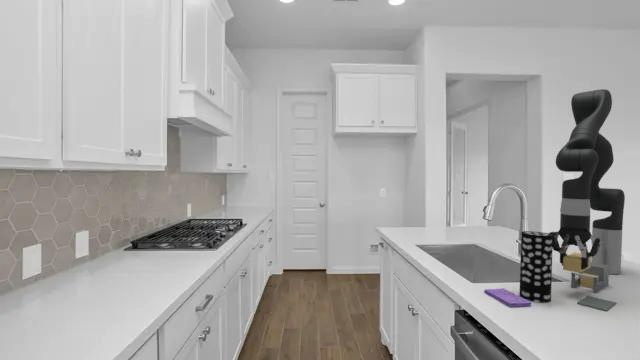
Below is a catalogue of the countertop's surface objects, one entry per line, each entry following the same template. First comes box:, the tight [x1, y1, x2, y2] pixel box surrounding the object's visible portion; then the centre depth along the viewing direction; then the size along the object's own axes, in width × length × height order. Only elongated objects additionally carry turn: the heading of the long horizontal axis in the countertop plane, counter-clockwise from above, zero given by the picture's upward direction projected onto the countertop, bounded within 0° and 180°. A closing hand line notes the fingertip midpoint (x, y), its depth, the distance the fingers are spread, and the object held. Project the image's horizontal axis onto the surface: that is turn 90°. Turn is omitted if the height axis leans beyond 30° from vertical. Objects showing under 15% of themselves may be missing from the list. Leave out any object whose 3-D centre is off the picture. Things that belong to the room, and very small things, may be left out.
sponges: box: [483, 287, 533, 309], centre depth 106 cm, size 7×13×2 cm, turn 7°
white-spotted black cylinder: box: [518, 230, 553, 303], centre depth 107 cm, size 8×8×20 cm
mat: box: [576, 295, 617, 312], centre depth 103 cm, size 10×7×1 cm
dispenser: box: [570, 262, 610, 294], centre depth 119 cm, size 14×7×7 cm, turn 127°
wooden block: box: [562, 251, 591, 273], centre depth 111 cm, size 10×4×4 cm, turn 127°
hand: (573, 266), depth 109 cm, fingers closed on wooden block, 4 cm apart
